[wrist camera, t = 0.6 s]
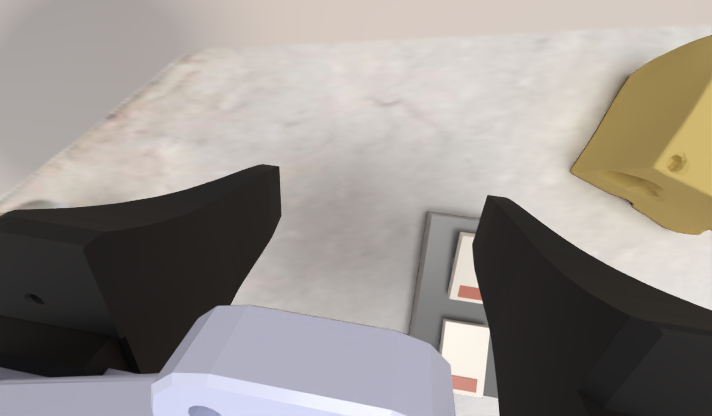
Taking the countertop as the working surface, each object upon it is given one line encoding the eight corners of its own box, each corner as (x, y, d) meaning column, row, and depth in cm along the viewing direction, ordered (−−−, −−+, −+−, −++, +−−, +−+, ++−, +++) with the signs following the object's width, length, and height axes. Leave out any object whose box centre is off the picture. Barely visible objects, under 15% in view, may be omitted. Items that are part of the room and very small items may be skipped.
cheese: (665, 231, 30) (804, 255, 20) (559, 171, 31) (644, 166, 21) (737, 127, 29) (921, 99, 19) (625, 66, 29) (749, 8, 19)
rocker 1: (490, 299, 28) (494, 306, 27) (447, 292, 29) (449, 299, 28) (505, 238, 27) (510, 242, 26) (460, 231, 27) (462, 236, 26)
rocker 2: (479, 392, 28) (483, 398, 27) (435, 385, 28) (437, 390, 27) (486, 325, 29) (490, 328, 28) (443, 318, 29) (446, 321, 28)
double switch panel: (489, 378, 32) (503, 403, 29) (404, 363, 33) (407, 386, 29) (516, 223, 31) (534, 229, 27) (427, 211, 32) (433, 215, 28)
